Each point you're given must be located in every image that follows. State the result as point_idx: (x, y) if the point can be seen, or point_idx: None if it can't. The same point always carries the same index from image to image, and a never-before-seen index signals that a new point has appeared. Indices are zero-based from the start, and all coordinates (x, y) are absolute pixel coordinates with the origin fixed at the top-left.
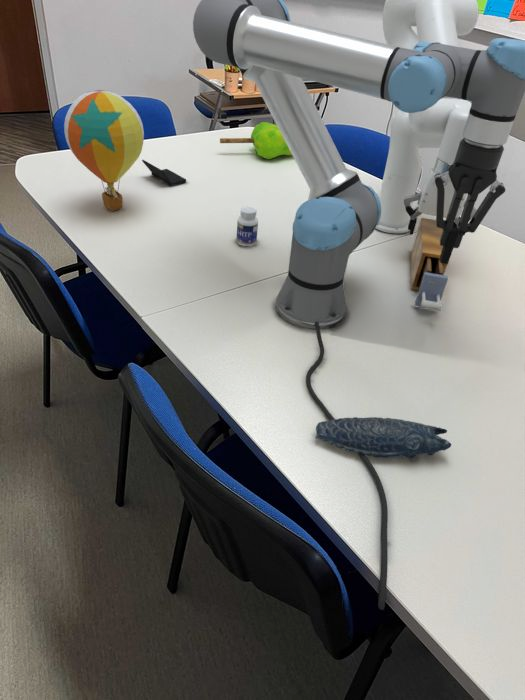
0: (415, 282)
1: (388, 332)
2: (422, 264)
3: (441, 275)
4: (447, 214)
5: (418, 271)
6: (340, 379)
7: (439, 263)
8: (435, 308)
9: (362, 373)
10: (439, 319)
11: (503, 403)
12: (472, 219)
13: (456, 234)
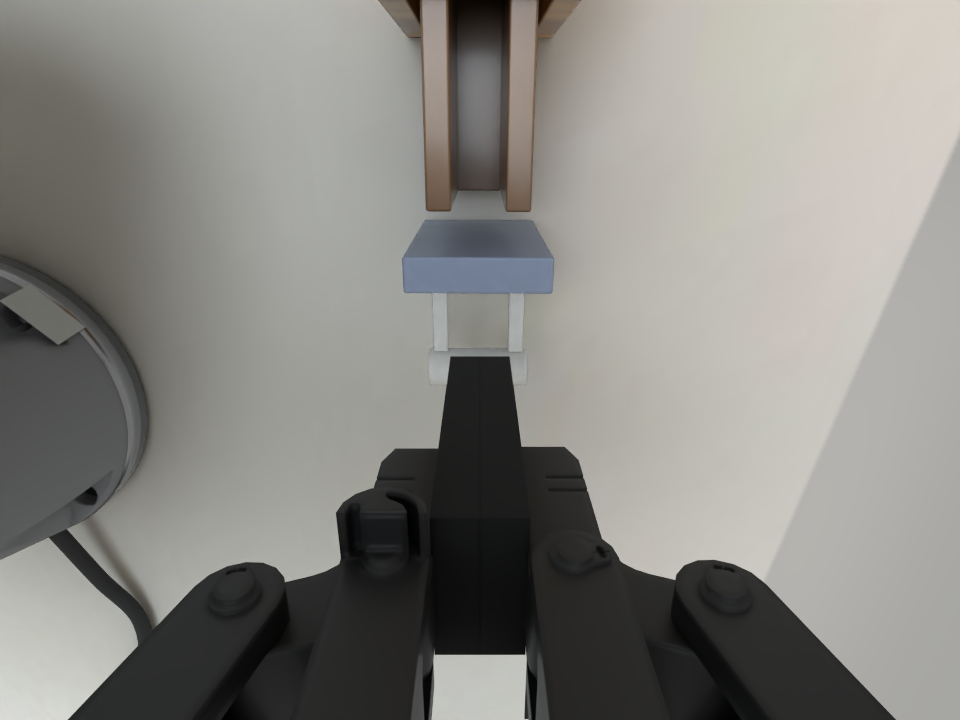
0: (411, 29)
1: (333, 441)
2: (405, 4)
3: (511, 267)
4: (300, 701)
5: (400, 14)
6: None
7: (513, 63)
8: None
9: None
10: None
11: None
12: (747, 707)
13: (510, 650)
